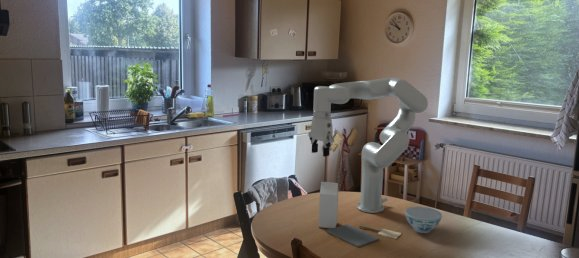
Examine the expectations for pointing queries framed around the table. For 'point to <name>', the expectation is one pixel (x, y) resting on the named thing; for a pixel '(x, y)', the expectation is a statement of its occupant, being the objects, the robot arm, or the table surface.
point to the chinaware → (423, 218)
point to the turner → (382, 232)
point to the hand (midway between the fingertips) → (320, 153)
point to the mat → (352, 235)
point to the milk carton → (328, 205)
